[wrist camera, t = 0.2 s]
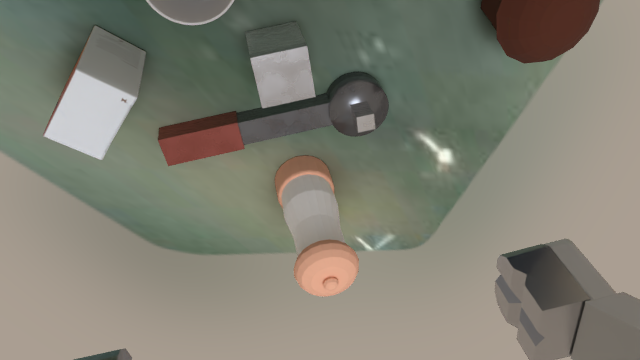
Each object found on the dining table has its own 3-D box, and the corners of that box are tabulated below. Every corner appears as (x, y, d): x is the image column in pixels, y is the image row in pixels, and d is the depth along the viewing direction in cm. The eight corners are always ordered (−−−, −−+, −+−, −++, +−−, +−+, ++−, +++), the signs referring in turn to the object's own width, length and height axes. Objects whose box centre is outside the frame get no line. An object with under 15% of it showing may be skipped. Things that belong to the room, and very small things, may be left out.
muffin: (494, -77, 54) (546, -54, 46) (583, -57, 57) (645, -33, 49) (455, 34, 60) (494, 70, 52) (536, 46, 63) (584, 82, 55)
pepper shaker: (333, 192, 71) (370, 300, 55) (281, 206, 70) (304, 318, 55) (323, 148, 66) (361, 253, 51) (268, 163, 66) (289, 273, 51)
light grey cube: (245, 31, 55) (250, 58, 50) (296, 21, 56) (307, 45, 50) (256, 79, 59) (262, 108, 53) (304, 68, 59) (315, 96, 54)
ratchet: (154, 115, 59) (150, 142, 54) (379, 65, 61) (394, 88, 56) (173, 164, 63) (171, 193, 59) (383, 117, 65) (397, 142, 60)
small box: (95, 23, 52) (75, 66, 44) (148, 51, 55) (139, 97, 46) (64, 85, 55) (40, 137, 47) (115, 109, 58) (101, 162, 50)
